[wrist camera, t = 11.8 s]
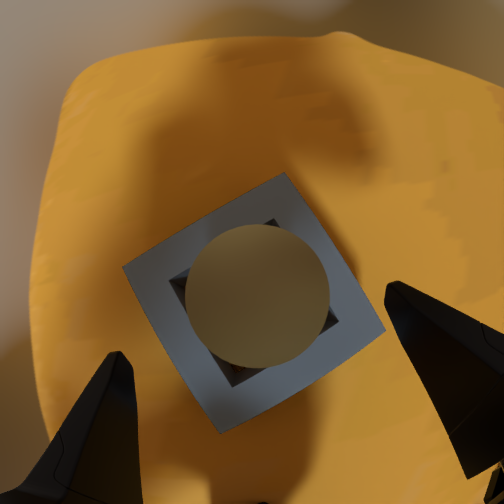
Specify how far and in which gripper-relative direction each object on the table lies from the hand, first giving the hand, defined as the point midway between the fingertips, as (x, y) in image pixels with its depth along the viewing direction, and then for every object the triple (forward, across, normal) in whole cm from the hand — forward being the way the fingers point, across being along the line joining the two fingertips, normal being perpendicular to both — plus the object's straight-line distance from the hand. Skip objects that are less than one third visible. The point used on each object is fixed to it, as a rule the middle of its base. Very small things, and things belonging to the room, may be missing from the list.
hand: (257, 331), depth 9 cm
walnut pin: (+8, 0, +7) cm, 11 cm away
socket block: (+8, 0, +7) cm, 11 cm away
